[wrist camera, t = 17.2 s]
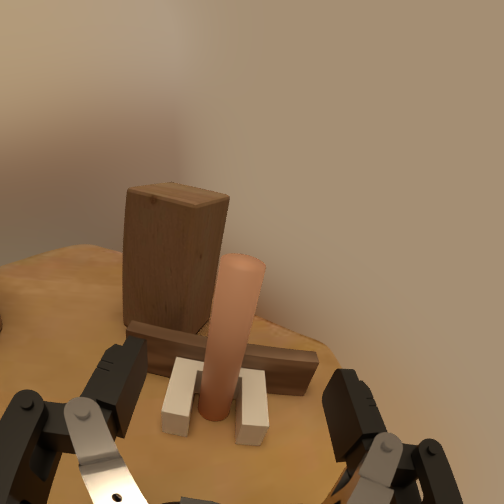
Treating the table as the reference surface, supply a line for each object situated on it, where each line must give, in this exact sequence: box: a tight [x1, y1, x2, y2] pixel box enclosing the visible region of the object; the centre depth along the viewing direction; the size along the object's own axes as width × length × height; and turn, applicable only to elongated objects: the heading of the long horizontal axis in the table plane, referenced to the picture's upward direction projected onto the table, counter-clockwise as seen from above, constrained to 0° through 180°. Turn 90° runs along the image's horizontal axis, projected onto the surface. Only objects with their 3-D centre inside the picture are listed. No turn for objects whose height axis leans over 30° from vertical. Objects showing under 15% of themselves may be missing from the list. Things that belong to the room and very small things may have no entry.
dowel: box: [198, 253, 266, 421], centre depth 25 cm, size 4×4×18 cm
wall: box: [126, 320, 319, 396], centre depth 31 cm, size 2×22×6 cm, turn 91°
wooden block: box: [123, 182, 230, 334], centre depth 37 cm, size 10×10×20 cm
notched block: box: [161, 357, 269, 446], centre depth 26 cm, size 8×10×4 cm
